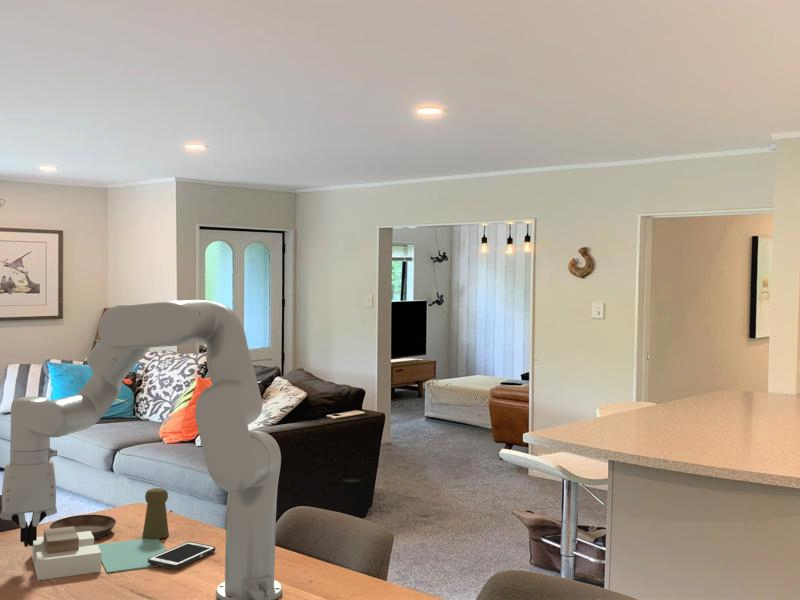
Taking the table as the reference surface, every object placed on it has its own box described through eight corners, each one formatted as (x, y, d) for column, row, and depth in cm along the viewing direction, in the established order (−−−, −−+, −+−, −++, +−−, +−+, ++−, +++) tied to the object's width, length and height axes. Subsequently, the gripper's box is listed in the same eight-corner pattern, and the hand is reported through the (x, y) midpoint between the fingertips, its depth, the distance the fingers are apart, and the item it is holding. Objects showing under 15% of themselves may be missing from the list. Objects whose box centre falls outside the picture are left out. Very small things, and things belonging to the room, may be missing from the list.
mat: (175, 563, 173) (175, 562, 173) (107, 573, 166) (107, 571, 166) (157, 538, 190) (157, 537, 190) (93, 546, 183) (94, 544, 183)
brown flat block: (78, 549, 168) (78, 538, 168) (47, 553, 166) (47, 541, 166) (73, 537, 176) (73, 526, 176) (43, 541, 173) (43, 529, 173)
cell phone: (145, 563, 171) (145, 559, 171) (188, 545, 185) (189, 541, 185) (175, 570, 168) (175, 565, 168) (217, 551, 182) (217, 546, 182)
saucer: (93, 547, 183) (93, 535, 183) (35, 541, 186) (35, 529, 186) (127, 528, 198) (128, 517, 198) (73, 523, 201) (73, 512, 201)
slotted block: (101, 571, 167) (101, 552, 167) (37, 580, 162) (38, 560, 162) (90, 548, 181) (90, 530, 181) (31, 555, 176) (32, 537, 176)
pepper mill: (140, 533, 193) (141, 487, 193) (166, 531, 195) (167, 485, 196) (144, 539, 187) (145, 491, 188) (170, 537, 190) (171, 490, 190)
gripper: (66, 450, 174) (64, 535, 175) (-11, 456, 167) (-13, 544, 168) (70, 457, 168) (69, 545, 168) (-10, 463, 161) (-12, 555, 161)
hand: (28, 544), depth 168 cm, fingers closed
